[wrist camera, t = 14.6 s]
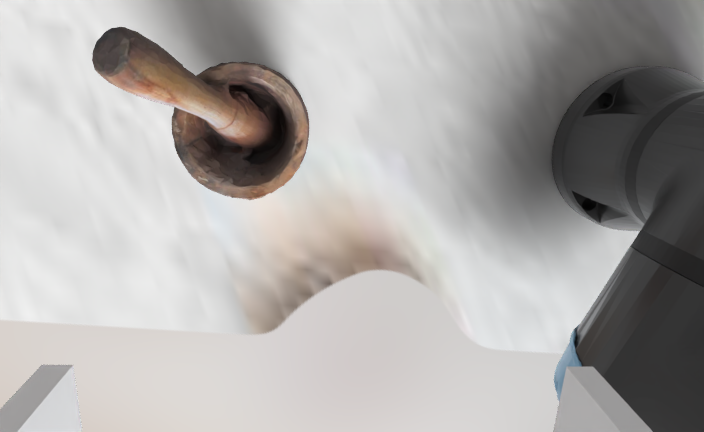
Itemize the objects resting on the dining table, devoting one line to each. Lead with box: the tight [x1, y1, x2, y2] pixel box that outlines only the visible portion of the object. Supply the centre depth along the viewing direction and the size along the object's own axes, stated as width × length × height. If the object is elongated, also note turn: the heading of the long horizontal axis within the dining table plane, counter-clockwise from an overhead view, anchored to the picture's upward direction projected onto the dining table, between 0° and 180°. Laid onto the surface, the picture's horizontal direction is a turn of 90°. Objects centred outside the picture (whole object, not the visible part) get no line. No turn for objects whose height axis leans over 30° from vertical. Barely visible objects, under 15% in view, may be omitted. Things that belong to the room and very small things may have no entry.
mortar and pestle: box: [92, 27, 309, 200], centre depth 33 cm, size 12×9×20 cm
